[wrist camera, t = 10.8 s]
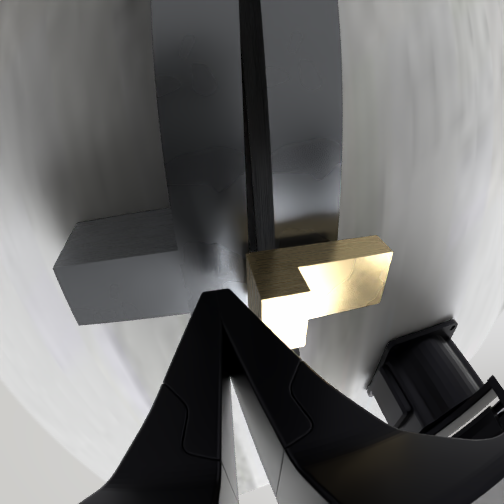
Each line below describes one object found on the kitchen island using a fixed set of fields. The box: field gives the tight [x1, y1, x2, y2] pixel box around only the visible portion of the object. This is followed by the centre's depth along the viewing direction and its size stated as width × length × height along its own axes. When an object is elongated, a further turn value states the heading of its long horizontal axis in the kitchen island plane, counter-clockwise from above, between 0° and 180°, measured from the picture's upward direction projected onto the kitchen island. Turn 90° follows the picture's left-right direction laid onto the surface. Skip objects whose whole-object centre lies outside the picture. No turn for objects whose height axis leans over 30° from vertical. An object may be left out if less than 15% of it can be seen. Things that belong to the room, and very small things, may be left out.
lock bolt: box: [245, 235, 393, 349], centre depth 9 cm, size 4×2×2 cm, turn 92°
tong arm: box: [239, 0, 342, 356], centre depth 8 cm, size 4×21×3 cm, turn 4°
